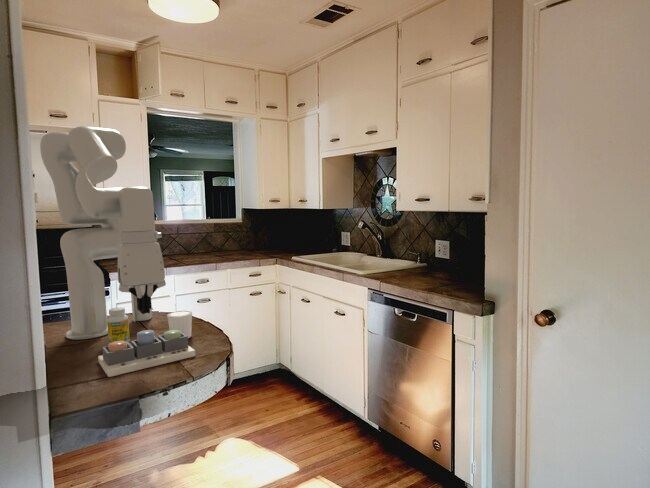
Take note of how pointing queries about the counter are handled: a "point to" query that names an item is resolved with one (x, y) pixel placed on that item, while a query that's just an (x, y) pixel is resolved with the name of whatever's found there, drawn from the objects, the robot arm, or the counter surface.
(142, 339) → the button two
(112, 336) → the supplement bottle
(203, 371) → the counter surface
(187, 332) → the white tapered cup
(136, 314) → the paper towel roll
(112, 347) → the button one
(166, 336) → the button three
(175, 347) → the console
